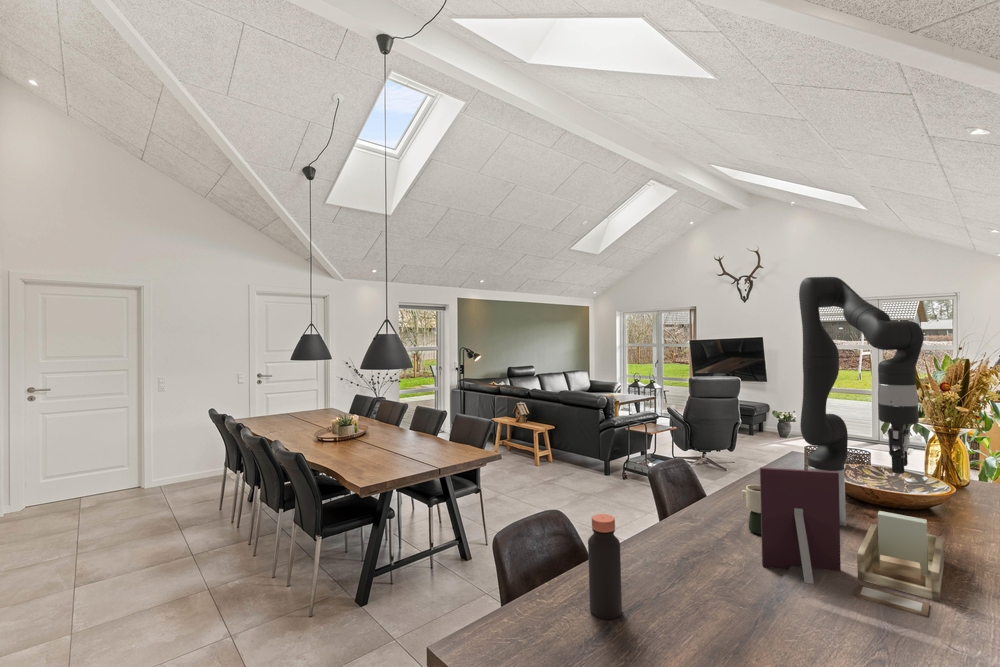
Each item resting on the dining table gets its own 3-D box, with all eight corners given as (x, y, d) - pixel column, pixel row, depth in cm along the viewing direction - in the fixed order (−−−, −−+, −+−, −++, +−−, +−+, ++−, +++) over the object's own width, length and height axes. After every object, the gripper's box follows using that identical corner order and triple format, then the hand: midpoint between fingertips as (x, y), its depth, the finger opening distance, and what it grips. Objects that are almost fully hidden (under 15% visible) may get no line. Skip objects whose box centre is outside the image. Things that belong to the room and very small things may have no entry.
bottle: (621, 622, 99) (618, 525, 99) (588, 617, 101) (585, 522, 101) (622, 604, 105) (619, 513, 105) (591, 600, 107) (588, 511, 107)
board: (854, 601, 104) (853, 593, 104) (858, 590, 108) (858, 583, 108) (927, 623, 96) (927, 615, 96) (929, 610, 100) (929, 602, 100)
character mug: (786, 535, 138) (784, 490, 138) (771, 541, 134) (770, 495, 134) (750, 523, 147) (749, 481, 147) (735, 528, 144) (734, 485, 144)
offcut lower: (872, 579, 111) (872, 568, 111) (874, 573, 113) (874, 562, 113) (924, 593, 104) (924, 581, 104) (925, 586, 107) (925, 575, 107)
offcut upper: (880, 570, 109) (880, 559, 109) (880, 565, 112) (880, 554, 112) (921, 579, 105) (920, 568, 105) (920, 574, 108) (919, 562, 108)
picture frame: (839, 573, 116) (835, 470, 116) (854, 594, 107) (850, 482, 107) (762, 564, 121) (759, 466, 121) (770, 584, 112) (766, 477, 112)
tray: (857, 584, 111) (857, 553, 111) (872, 549, 128) (871, 522, 128) (939, 607, 101) (938, 573, 101) (944, 566, 118) (943, 537, 118)
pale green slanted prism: (879, 562, 118) (877, 514, 118) (880, 558, 121) (879, 510, 121) (927, 574, 112) (925, 523, 112) (928, 569, 114) (926, 519, 114)
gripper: (881, 398, 124) (884, 460, 124) (874, 404, 114) (876, 472, 114) (920, 400, 119) (922, 465, 119) (915, 407, 109) (918, 478, 109)
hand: (900, 469), depth 117 cm, fingers open, 8 cm apart
